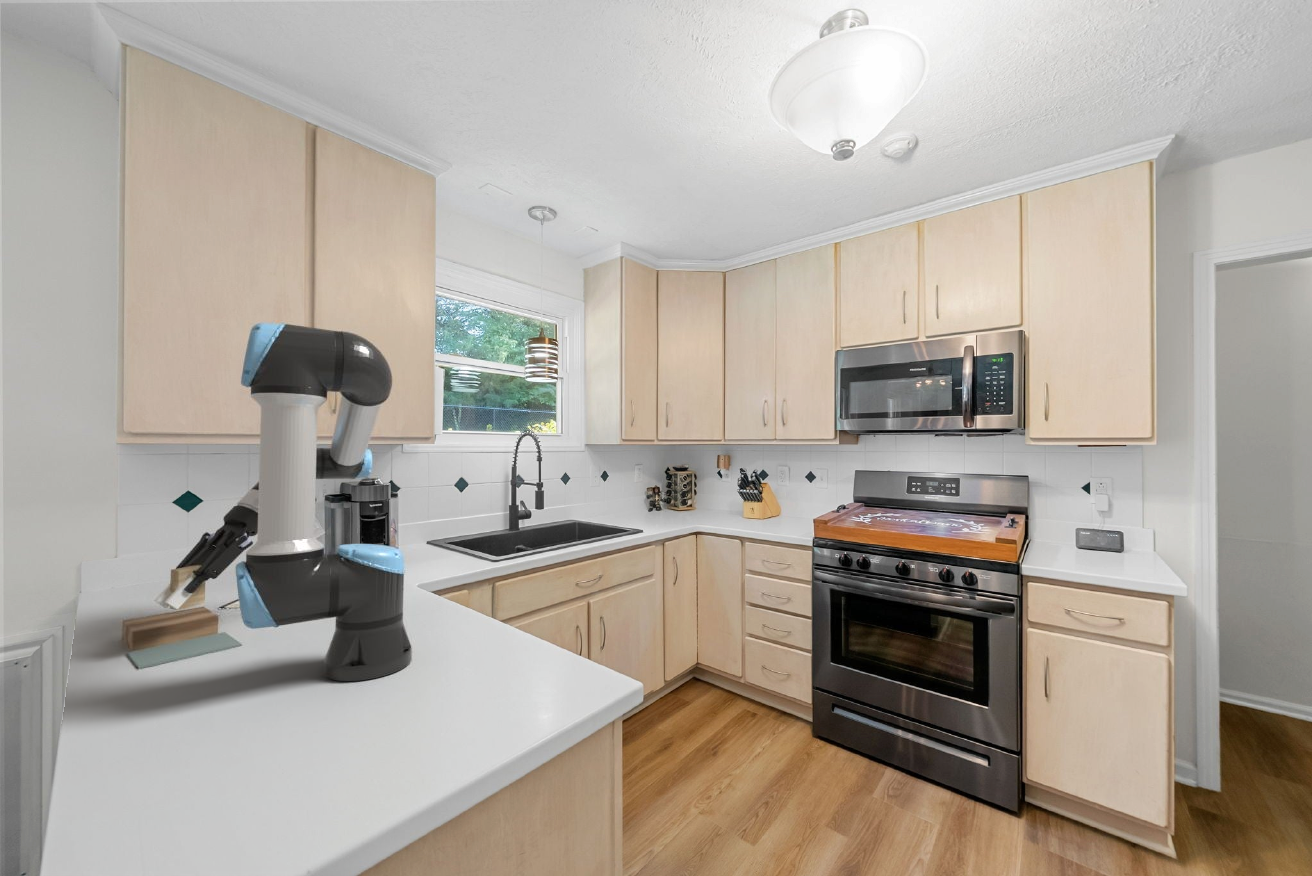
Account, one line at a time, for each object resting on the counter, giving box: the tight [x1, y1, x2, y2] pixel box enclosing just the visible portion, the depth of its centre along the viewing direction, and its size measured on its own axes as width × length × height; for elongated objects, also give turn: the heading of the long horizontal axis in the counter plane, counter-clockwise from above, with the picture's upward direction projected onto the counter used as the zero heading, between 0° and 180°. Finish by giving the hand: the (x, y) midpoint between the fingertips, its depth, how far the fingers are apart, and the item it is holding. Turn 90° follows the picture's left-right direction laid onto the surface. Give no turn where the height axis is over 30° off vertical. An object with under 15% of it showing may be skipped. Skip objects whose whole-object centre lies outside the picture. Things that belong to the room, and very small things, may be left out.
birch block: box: [169, 565, 206, 611], centre depth 113 cm, size 2×5×8 cm, turn 162°
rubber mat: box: [126, 631, 243, 670], centre depth 112 cm, size 12×16×1 cm
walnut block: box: [121, 606, 219, 651], centre depth 120 cm, size 12×14×4 cm
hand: (165, 604), depth 110 cm, fingers closed on birch block, 2 cm apart
